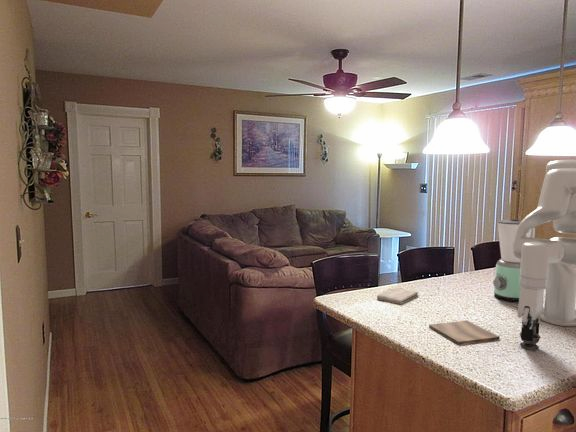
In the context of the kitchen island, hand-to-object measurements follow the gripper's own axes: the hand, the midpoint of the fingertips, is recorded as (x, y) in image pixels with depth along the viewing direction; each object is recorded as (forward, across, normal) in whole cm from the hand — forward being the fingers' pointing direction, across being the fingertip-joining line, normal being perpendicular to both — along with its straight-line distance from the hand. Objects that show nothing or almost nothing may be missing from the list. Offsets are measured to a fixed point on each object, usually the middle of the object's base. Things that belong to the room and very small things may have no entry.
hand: (529, 336), depth 136 cm
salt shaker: (+3, 0, 0) cm, 3 cm away
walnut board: (+4, +3, -20) cm, 20 cm away
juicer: (+5, -53, -21) cm, 57 cm away
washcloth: (+5, -18, -57) cm, 60 cm away
